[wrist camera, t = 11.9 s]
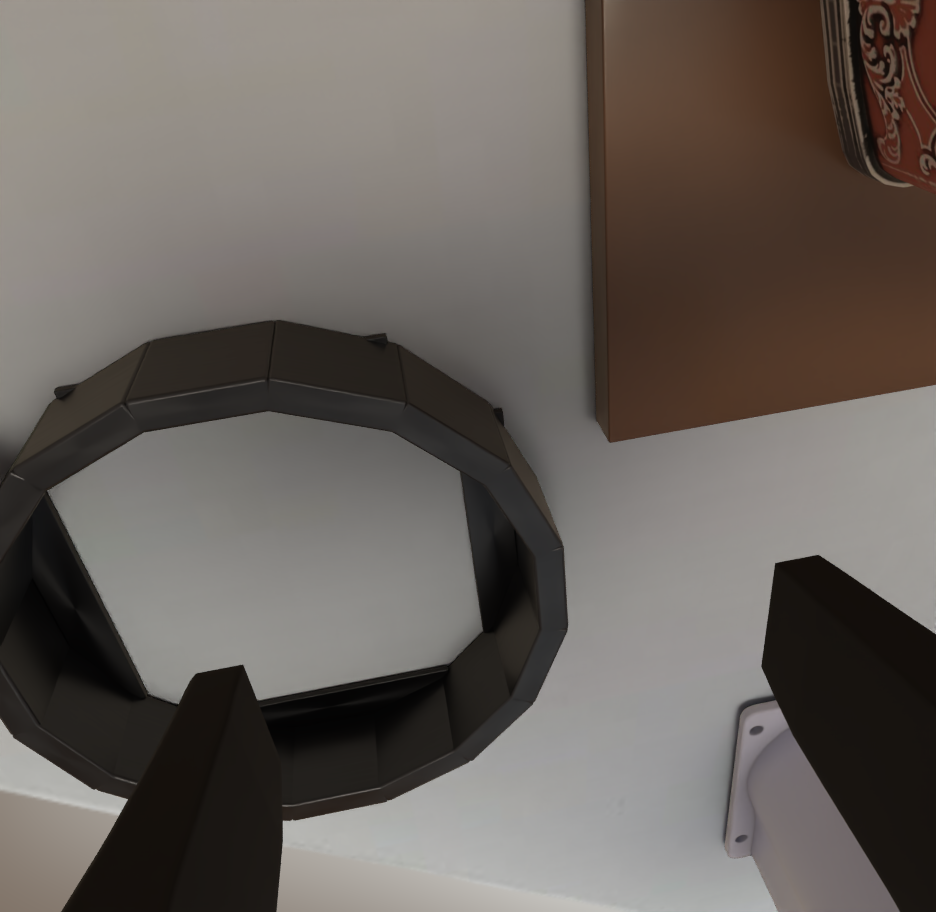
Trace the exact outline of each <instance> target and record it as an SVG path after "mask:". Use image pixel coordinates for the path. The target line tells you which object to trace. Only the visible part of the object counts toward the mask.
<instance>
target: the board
mask: <svg viewBox="0 0 936 912" xmlns="http://www.w3.org/2000/svg"><path fill="white" fill-rule="evenodd" d="M585 8H586V46H587V84H588V122H589V161H590V199H591V237H592V275H593V313H594V351H595V390H596V420H597V422H598V424H599V425H600V427H601V429H602V431H603V433H604V434H605V436H606V438H607V440H608V441H609V442H610V443H612V442H617V441H623V440H629V439H634V438H640V437H645V436H651V435H657V434H662V433H668V432H673V431H679V430H685V429H690V428H696V427H701V426H707V425H713V424H718V423H724V422H729V421H735V420H741V419H746V418H752V417H757V416H763V415H769V414H774V413H780V412H786V411H791V410H797V409H802V408H808V407H814V406H819V405H825V404H830V403H836V402H842V401H847V400H853V399H858V398H864V397H870V396H875V395H881V394H886V393H892V392H898V391H903V390H909V389H915V388H920V387H926V386H931V385H936V194H933V193H931V192H928V191H926V190H923V189H921V188H919V187H916V186H909V187H898V186H892V185H886V184H883V183H881V182H879V181H876V180H874V179H872V178H869V177H867V176H865V175H862V174H861V173H859V172H858V171H857V170H855V169H854V168H852V167H851V166H850V165H849V164H848V162H847V160H846V158H845V156H844V154H843V151H842V147H841V143H840V138H839V133H838V129H837V124H836V119H835V115H834V110H833V105H832V101H831V96H830V91H829V87H828V82H827V71H826V60H825V49H824V38H823V28H822V17H821V6H820V0H585Z"/></svg>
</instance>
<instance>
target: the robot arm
mask: <svg viewBox="0 0 936 912" xmlns="http://www.w3.org/2000/svg"><path fill="white" fill-rule="evenodd" d="M761 667H762V669H763V671H764V674H765V676H766V678H767V680H768V683H769V685H770V687H771V689H772V692H773V694H774V696H775V699H776V700H775V701H770V702H765V703H760V704H755V705H752V706H749V707H747V708H746V709H744V711H743V712H742V713H741V716H740V722H739V730H738V738H737V747H736V755H735V763H734V772H733V780H732V788H731V797H730V805H729V814H728V822H727V830H726V839H725V850H726V852H727V855H728V856H729V857H730V858H741V857H746V856H751V855H752V857H753V859H754V861H755V863H756V865H757V867H758V869H759V872H760V874H761V876H762V878H763V880H764V882H765V884H766V887H767V889H768V891H769V893H770V895H771V897H772V899H773V902H774V904H775V906H776V908H777V910H778V912H936V634H935V633H933V632H932V631H930V630H929V629H927V628H926V627H924V626H923V625H921V624H920V623H918V622H917V621H915V620H914V619H912V618H911V617H909V616H908V615H906V614H905V613H903V612H902V611H900V610H899V609H897V608H896V607H895V606H893V605H892V604H890V603H889V602H887V601H886V600H884V599H883V598H881V597H880V596H878V595H877V594H876V593H874V592H873V591H871V590H870V589H868V588H867V587H865V586H864V585H862V584H861V583H860V582H858V581H857V580H855V579H854V578H852V577H851V576H849V575H848V574H846V573H845V572H843V571H842V570H841V569H839V568H838V567H836V566H835V565H833V564H832V563H830V562H829V561H827V560H826V559H824V558H822V557H821V556H819V555H815V556H810V557H805V558H800V559H794V560H789V561H784V562H779V563H775V570H774V577H773V584H772V592H771V599H770V607H769V614H768V621H767V629H766V636H765V644H764V651H763V658H762V666H761ZM282 842H283V819H282V771H281V760H280V758H279V755H278V753H277V750H276V747H275V745H274V742H273V740H272V737H271V735H270V732H269V730H268V727H267V724H266V722H265V719H264V717H263V714H262V712H261V709H260V707H259V704H258V701H257V699H256V696H255V694H254V691H253V689H252V686H251V684H250V681H249V678H248V676H247V673H246V671H245V668H244V666H243V665H239V666H233V667H228V668H223V669H218V670H212V671H207V672H202V673H197V674H195V676H194V677H193V678H192V679H191V681H190V682H189V684H188V686H187V688H186V690H185V692H184V694H183V696H182V699H181V701H180V703H179V705H178V707H177V709H176V711H175V712H174V714H173V716H172V718H171V720H170V722H169V724H168V726H167V728H166V730H165V732H164V734H163V736H162V738H161V740H160V742H159V744H158V746H157V748H156V750H155V751H154V753H153V755H152V757H151V759H150V761H149V763H148V765H147V767H146V768H145V770H144V772H143V774H142V776H141V778H140V780H139V781H138V783H137V785H136V787H135V788H134V790H133V792H132V794H131V796H130V797H129V799H128V801H127V803H126V804H125V806H124V808H123V810H122V812H121V813H120V815H119V817H118V819H117V821H116V822H115V824H114V826H113V828H112V830H111V831H110V833H109V835H108V836H107V838H106V840H105V841H104V843H103V845H102V847H101V848H100V850H99V852H98V853H97V855H96V856H95V858H94V860H93V861H92V863H91V865H90V866H89V868H88V869H87V871H86V873H85V874H84V876H83V878H82V879H81V881H80V882H79V884H78V886H77V887H76V889H75V890H74V892H73V894H72V895H71V897H70V899H69V900H68V902H67V903H66V905H65V907H64V908H63V910H62V911H61V912H276V910H277V898H278V887H279V877H280V866H281V854H282Z"/></svg>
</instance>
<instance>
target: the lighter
mask: <svg viewBox="0 0 936 912" xmlns="http://www.w3.org/2000/svg"><path fill="white" fill-rule="evenodd" d="M820 6H821V17H822V28H823V38H824V49H825V60H826V71H827V82H828V87H829V91H830V96H831V101H832V105H833V110H834V115H835V119H836V124H837V129H838V133H839V138H840V143H841V147H842V151H843V154H844V156H845V158H846V160H847V162H848V164H849V165H850V166H851V167H852V168H854V169H855V170H857V171H858V172H859V173H861V174H862V175H865V176H867V177H869V178H872V179H874V180H876V181H879V182H881V183H883V184H886V185H892V186H898V187H909V186H916V187H919V188H921V189H923V190H926V191H928V192H931V193H933V194H936V0H820Z"/></svg>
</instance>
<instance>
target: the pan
mask: <svg viewBox="0 0 936 912" xmlns="http://www.w3.org/2000/svg"><path fill="white" fill-rule="evenodd" d="M54 393H55V395H56V397H57V399H55V400H53V402H52V403H50V404H49V405H48V407H47V408H46V410H45V412H44V413H43V415H42V417H41V418H40V420H39V422H38V423H37V425H36V427H35V428H34V430H33V432H32V433H31V435H30V437H29V438H28V440H27V442H26V443H25V445H24V447H23V448H22V450H21V452H20V453H19V455H18V457H17V458H16V460H15V462H14V463H13V465H12V467H11V468H10V470H9V472H8V473H7V475H6V477H5V478H4V480H3V482H2V484H1V485H0V719H1V720H2V722H3V723H4V725H5V726H6V728H7V729H8V730H9V732H10V733H11V734H12V735H13V738H15V739H16V740H18V741H19V742H21V743H22V744H24V745H26V746H27V747H29V748H30V749H32V750H33V751H35V752H36V753H38V754H39V755H41V756H42V757H44V758H46V759H47V760H49V761H50V762H52V763H53V764H55V765H56V766H58V767H59V768H61V769H63V770H64V771H66V772H67V773H69V774H70V775H72V776H73V777H75V778H76V779H78V780H79V781H81V782H83V783H84V784H86V785H87V786H89V787H90V788H92V789H94V790H95V789H97V790H98V791H101V792H105V793H108V794H112V795H115V796H119V797H122V798H126V799H129V797H130V796H131V794H132V792H133V790H134V788H135V787H136V785H137V783H138V781H139V780H140V778H141V776H142V774H143V772H144V770H145V768H146V767H147V765H148V763H149V761H150V759H151V757H152V755H153V753H154V751H155V750H156V748H157V746H158V744H159V742H160V740H161V738H162V736H163V734H164V732H165V730H166V728H167V726H168V724H169V722H170V720H171V718H172V716H173V714H174V712H175V711H176V709H177V706H175V705H172V704H169V703H166V702H163V701H160V700H157V699H154V698H152V697H149V696H147V691H146V689H145V687H144V685H143V683H142V681H141V679H140V677H139V675H138V673H137V671H136V669H135V667H134V665H133V663H132V661H131V659H130V657H129V655H128V653H127V651H126V649H125V648H124V646H123V644H122V642H121V640H120V638H119V636H118V634H117V632H116V630H115V628H114V626H113V624H112V622H111V620H110V618H109V616H108V614H107V612H106V610H105V608H104V606H103V604H102V602H101V600H100V598H99V596H98V594H97V592H96V590H95V588H94V586H93V584H92V582H91V580H90V578H89V576H88V574H87V572H86V570H85V568H84V566H83V564H82V562H81V560H80V558H79V556H78V554H77V552H76V550H75V548H74V546H73V544H72V542H71V540H70V538H69V536H68V534H67V532H66V530H65V528H64V526H63V524H62V522H61V520H60V518H59V516H58V514H57V512H56V510H55V508H54V506H53V504H52V502H51V500H50V498H49V496H48V494H47V492H46V491H47V490H49V489H50V488H52V487H54V486H55V485H57V484H59V483H60V482H62V481H64V480H65V479H67V478H69V477H70V476H72V475H74V474H75V473H77V472H79V471H80V470H82V469H84V468H85V467H87V466H89V465H90V464H92V463H94V462H95V461H97V460H99V459H100V458H102V457H104V456H105V455H107V454H109V453H111V452H112V451H114V450H116V449H117V448H119V447H121V446H122V445H124V444H126V443H127V442H129V441H131V440H132V439H134V438H136V437H137V436H139V435H141V434H142V433H144V432H149V431H155V430H161V429H167V428H172V427H178V426H184V425H190V424H196V423H202V422H208V421H213V420H219V419H225V418H231V417H237V416H243V415H248V414H254V413H260V412H266V411H271V412H277V413H283V414H289V415H295V416H301V417H307V418H313V419H319V420H325V421H331V422H337V423H343V424H349V425H355V426H361V427H367V428H373V429H379V430H385V431H391V432H393V433H395V434H397V435H399V436H400V437H402V438H404V439H405V440H407V441H409V442H411V443H412V444H414V445H416V446H417V447H419V448H421V449H423V450H424V451H426V452H428V453H429V454H431V455H433V456H435V457H436V458H438V459H440V460H441V461H443V462H445V463H447V464H448V465H450V466H452V467H453V468H455V469H457V470H459V471H460V473H461V480H462V487H463V494H464V501H465V508H466V515H467V522H468V529H469V536H470V543H471V550H472V557H473V564H474V571H475V578H476V585H477V592H478V599H479V606H480V613H481V620H482V627H483V633H482V634H481V635H480V636H479V637H478V638H477V639H476V640H475V641H474V642H473V643H472V644H471V645H470V646H469V647H468V648H467V649H466V650H465V651H464V652H463V653H462V654H461V655H460V656H459V657H458V658H457V659H456V660H455V661H454V662H453V663H452V664H451V665H450V666H449V667H448V668H447V666H441V667H436V668H431V669H426V670H421V671H416V672H410V673H405V674H400V675H395V676H390V677H385V678H380V679H374V680H369V681H364V682H359V683H354V684H349V685H343V686H338V687H333V688H328V689H323V690H318V691H312V692H307V693H302V694H297V695H292V696H287V697H282V698H276V699H271V700H266V701H261V702H258V704H259V707H260V709H261V712H262V714H263V717H264V719H265V722H266V724H267V727H268V730H269V732H270V735H271V737H272V740H273V742H274V745H275V747H276V750H277V753H278V755H279V758H280V760H281V771H282V819H283V821H291V820H292V819H293V820H300V819H305V818H310V817H315V816H320V815H324V814H329V813H334V812H339V811H344V810H349V809H354V808H359V807H364V806H369V805H374V804H378V803H383V802H387V800H392V799H394V798H396V797H398V796H400V795H402V794H404V793H406V792H408V791H411V790H413V789H415V788H417V787H419V786H421V785H423V784H425V783H427V782H429V781H431V780H433V779H435V778H437V777H439V776H442V775H444V774H446V773H448V772H450V771H452V770H454V769H456V768H458V767H460V766H462V765H464V764H466V763H468V762H469V761H472V760H474V759H475V758H476V757H477V756H478V755H479V754H480V753H481V752H482V751H483V750H484V749H485V748H486V747H487V746H489V745H490V744H491V743H492V742H493V741H494V740H495V739H496V738H497V737H498V736H499V735H500V734H501V733H503V732H504V731H505V730H506V729H507V728H508V727H509V726H510V725H511V724H512V723H513V722H514V721H515V720H516V719H518V718H519V717H520V716H521V715H522V714H523V713H524V712H525V711H526V710H527V709H528V708H529V707H530V706H532V705H533V702H535V700H536V698H537V696H538V693H539V691H540V689H541V687H542V685H543V683H544V680H545V678H546V676H547V674H548V672H549V670H550V667H551V665H552V663H553V661H554V659H555V657H556V655H557V652H558V650H559V648H560V646H561V644H562V642H563V639H564V637H565V635H566V633H567V630H568V629H567V628H568V612H567V595H566V578H565V561H564V547H563V544H562V540H561V538H560V535H559V533H558V530H557V528H556V525H555V523H554V520H553V518H552V515H551V512H550V510H549V507H548V505H547V502H546V500H545V497H544V495H543V492H542V490H541V487H540V485H539V482H538V480H537V477H536V476H535V474H534V473H533V471H532V469H531V468H530V466H529V465H528V463H527V462H526V460H525V458H524V457H523V455H522V454H521V452H520V451H519V449H518V447H517V446H516V444H515V443H514V441H513V440H512V438H511V436H510V435H509V433H508V432H507V430H506V429H505V427H504V418H503V411H502V408H498V409H493V408H492V406H491V405H490V404H488V402H487V401H486V400H484V399H482V398H481V397H479V396H478V395H476V394H475V393H473V392H472V391H470V390H469V389H467V388H465V387H464V386H462V385H461V384H459V383H458V382H456V381H455V380H453V379H451V378H450V377H448V376H447V375H445V374H444V373H442V372H441V371H439V370H437V369H436V368H434V367H433V366H431V365H430V364H428V363H427V362H425V361H423V360H422V359H420V358H419V357H417V356H416V355H414V354H413V353H411V352H409V351H408V350H406V349H405V348H403V347H402V346H400V345H396V344H395V343H390V342H387V337H386V334H385V333H384V334H378V335H372V336H366V337H360V336H354V335H349V334H344V333H339V332H334V331H329V330H324V329H319V328H314V327H309V326H304V325H299V324H294V323H289V322H284V321H276V322H274V321H269V322H263V323H257V324H251V325H245V326H238V327H232V328H226V329H220V330H214V331H208V332H202V333H196V334H190V335H184V336H177V337H171V338H165V339H159V340H153V341H152V342H151V343H150V342H149V343H145V344H144V345H142V346H140V347H139V348H137V349H136V350H134V351H132V352H131V353H129V354H128V355H126V356H124V357H123V358H121V359H120V360H118V361H116V362H115V363H113V364H111V365H110V366H108V367H107V368H105V369H103V370H102V371H100V372H99V373H97V374H95V375H94V376H92V377H91V378H89V379H87V380H86V381H84V382H82V383H81V384H78V385H72V386H66V387H60V388H56V389H55V391H54Z"/></svg>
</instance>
